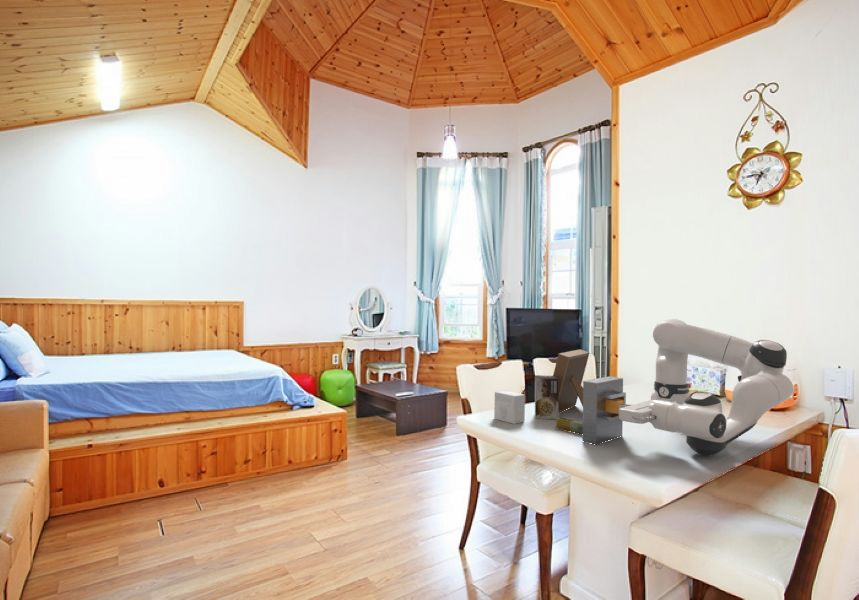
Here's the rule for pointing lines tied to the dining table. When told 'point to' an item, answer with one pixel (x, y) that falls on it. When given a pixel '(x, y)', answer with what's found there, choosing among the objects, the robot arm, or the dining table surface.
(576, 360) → the photo frame
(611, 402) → the plunger
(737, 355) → the robot arm
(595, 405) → the panel
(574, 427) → the medication box
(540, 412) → the coffee box
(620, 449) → the dining table surface
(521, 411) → the skincare box
